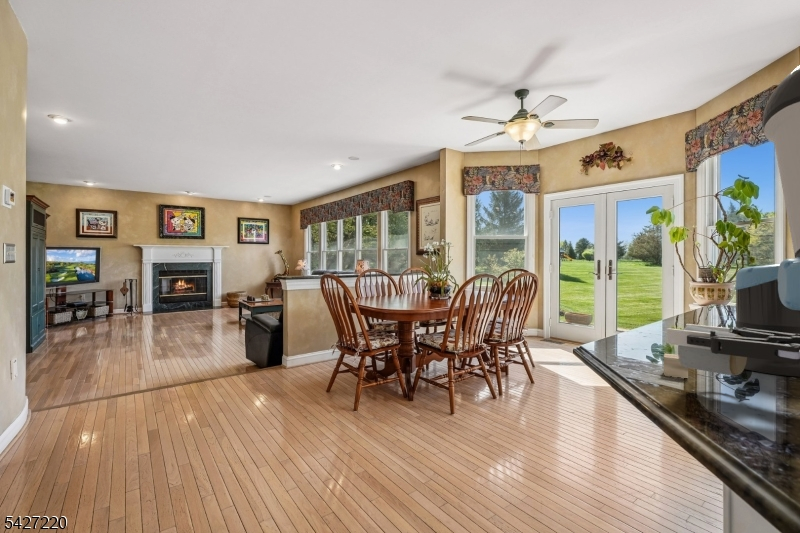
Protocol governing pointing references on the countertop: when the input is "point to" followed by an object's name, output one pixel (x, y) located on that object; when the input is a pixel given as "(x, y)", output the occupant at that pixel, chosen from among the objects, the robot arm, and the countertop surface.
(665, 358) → the birch block
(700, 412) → the countertop surface
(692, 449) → the countertop surface
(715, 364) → the ceramic mug
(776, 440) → the countertop surface
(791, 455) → the countertop surface
